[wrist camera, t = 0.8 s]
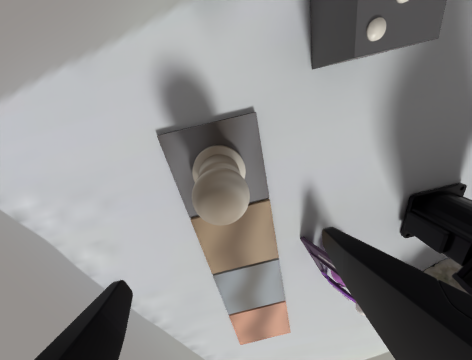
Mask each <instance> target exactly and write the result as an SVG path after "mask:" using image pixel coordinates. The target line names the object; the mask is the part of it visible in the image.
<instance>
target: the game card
mask: <svg viewBox="0 0 472 360" xmlns="http://www.w3.org/2000/svg"><path fill="white" fill-rule="evenodd" d="M300 239H301V241H302V242H303V244H304V245H305V247H306V249H307V250H308V252H309V253H310V255H311V257H312V258H313V260H314V261H315V263H316V265H317V266H318V268H319V269H320V271H321V273H322V274H323V276H324V277H325V278H326V279H327V280H328V282H329V283H330V284H331V285H333V287H334V288H335V289H336V290H337V291H338V292H340V293H341V294H342V295H343V294H344V297H345V298H346V299H348V298H349V299H350V300H352V301H353V302H355V303H356V310H357V311H358V312H359V313H360V314H361V315H365V314H364V313H363V311H362V310H361V308H360V307H359V305H358V304H357V302H356V301H355V299H354V298H353V296H352V295H351V294H349V293H348V292H347V291H346V290H345V289H343V288H342V287H345V284H344V283H343V281H342V280H341V278H340V276H339V274H338V272H337V271H336V269H335V267H334V265H333V263H332V261H331V259H330V258H329V256H328V254H327V253H326V252H324V251H323V250H321V249H320V248H319V247H317V246H316V245H314V244H313V243H311V242H310V241H308V240H307V239H306V238H304V237H301V238H300ZM318 260H319V261H320V262H321V263H323V264H324V265H325V266H327V267H328V268H329V269H330V270H331V274H332V277H333V278H334V280H335V281H336V282H338V283H336V282H335V281H334V280H332V279H331V278H330V277H329V276H328V275H327V274H326V272H325V271H324V269H323V268H322V266H321V264H320V263H319V261H318ZM340 285H341V286H340ZM347 297H348V298H347ZM349 299H348V300H349Z"/></svg>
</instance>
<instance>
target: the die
mask: <svg viewBox="0 0 472 360" xmlns="http://www.w3.org/2000/svg"><path fill="white" fill-rule="evenodd" d="M445 5H446V0H310V8H311V43H312V69H316V68H321V67H325V66H329V65H333V64H337V63H342V62H346V61H350V60H354V59H358V58H363V57H367V56H371V55H375V54H379V53H383V52H387V51H390V50H394V49H398V48H402V47H406V46H410V45H414V44H418V43H422V42H425V41H429V40H433V39H437V38H438V37H439V33H440V28H441V23H442V19H443V14H444V10H445Z"/></svg>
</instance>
